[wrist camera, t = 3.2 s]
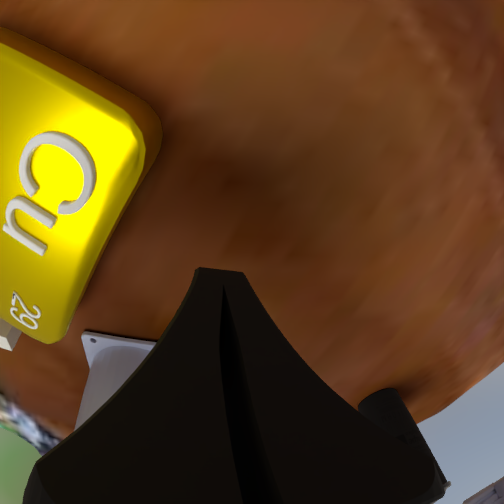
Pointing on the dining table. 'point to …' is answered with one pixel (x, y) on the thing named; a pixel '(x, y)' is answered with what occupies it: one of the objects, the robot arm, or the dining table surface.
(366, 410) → the drinking cup
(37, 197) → the element tile
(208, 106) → the dining table surface
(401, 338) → the dining table surface
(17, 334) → the white l-shaped strip
